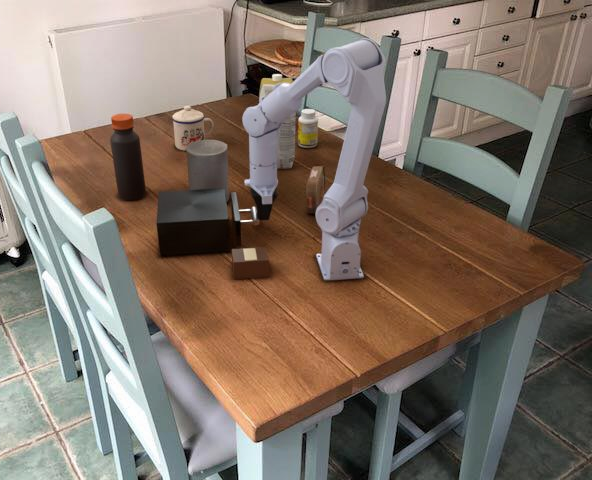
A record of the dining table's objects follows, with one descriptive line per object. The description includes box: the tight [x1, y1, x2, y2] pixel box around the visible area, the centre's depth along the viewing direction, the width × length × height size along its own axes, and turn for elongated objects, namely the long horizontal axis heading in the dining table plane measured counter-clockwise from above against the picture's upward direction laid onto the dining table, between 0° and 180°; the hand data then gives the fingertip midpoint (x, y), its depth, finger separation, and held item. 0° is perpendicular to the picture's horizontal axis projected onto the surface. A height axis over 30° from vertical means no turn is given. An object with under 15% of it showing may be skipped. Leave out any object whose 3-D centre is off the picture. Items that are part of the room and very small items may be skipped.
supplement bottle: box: [297, 108, 319, 149], centre depth 180 cm, size 6×6×10 cm
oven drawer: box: [230, 191, 261, 248], centre depth 137 cm, size 18×13×6 cm
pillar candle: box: [186, 139, 230, 203], centre depth 150 cm, size 10×10×15 cm
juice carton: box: [258, 73, 297, 169], centre depth 166 cm, size 9×8×24 cm
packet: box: [231, 246, 270, 280], centre depth 126 cm, size 5×7×4 cm
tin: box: [305, 165, 326, 215], centre depth 150 cm, size 15×3×8 cm, turn 168°
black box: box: [156, 188, 231, 258], centre depth 137 cm, size 15×15×8 cm
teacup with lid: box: [171, 105, 215, 152], centre depth 181 cm, size 12×9×12 cm
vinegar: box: [109, 113, 147, 201], centre depth 151 cm, size 7×7×20 cm
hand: (263, 218), depth 138 cm, fingers closed, pressing on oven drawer
